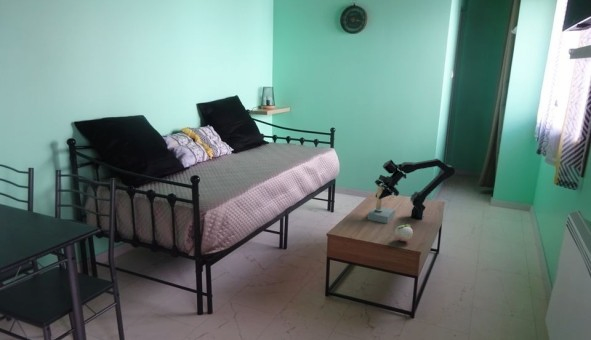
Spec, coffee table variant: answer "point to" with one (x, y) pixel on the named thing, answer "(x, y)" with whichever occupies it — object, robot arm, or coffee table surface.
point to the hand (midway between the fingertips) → (377, 197)
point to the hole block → (381, 214)
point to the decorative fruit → (404, 232)
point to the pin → (378, 202)
